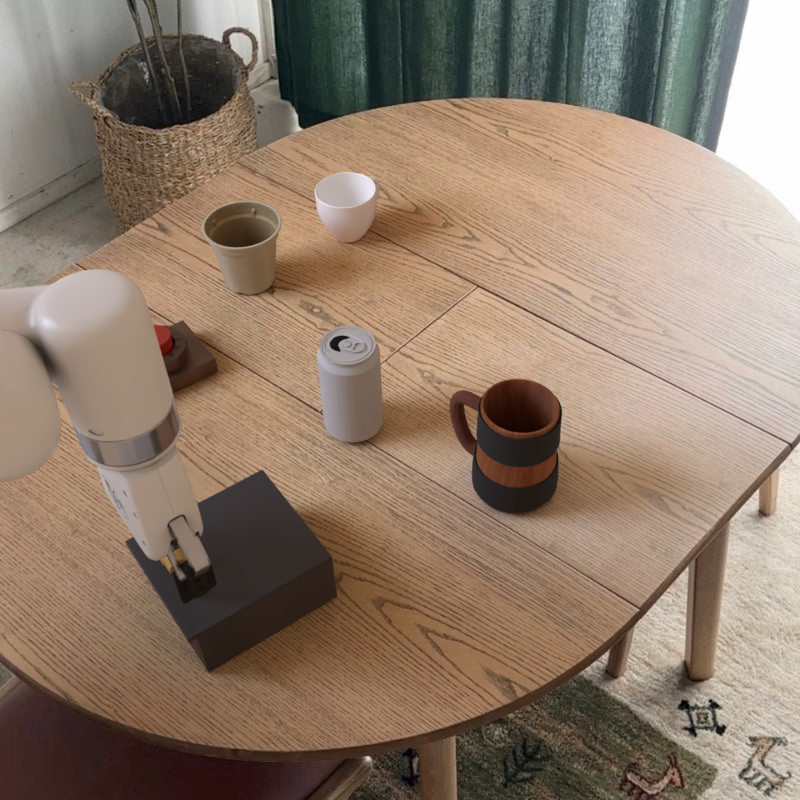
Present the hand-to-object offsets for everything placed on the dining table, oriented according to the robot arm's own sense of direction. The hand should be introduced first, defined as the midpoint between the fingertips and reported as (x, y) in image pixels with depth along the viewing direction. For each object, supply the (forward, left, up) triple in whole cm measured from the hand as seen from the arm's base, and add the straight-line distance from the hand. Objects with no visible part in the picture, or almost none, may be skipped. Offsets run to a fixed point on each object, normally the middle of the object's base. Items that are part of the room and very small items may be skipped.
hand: (173, 553), depth 91 cm
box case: (+5, 0, -10) cm, 11 cm away
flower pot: (+28, +39, -10) cm, 49 cm away
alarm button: (+12, +31, -6) cm, 34 cm away
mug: (+33, -4, -10) cm, 35 cm away
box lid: (+5, 0, -4) cm, 6 cm away
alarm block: (+12, +31, -10) cm, 35 cm away
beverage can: (+25, +11, -10) cm, 29 cm away
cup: (+44, +40, -10) cm, 61 cm away
